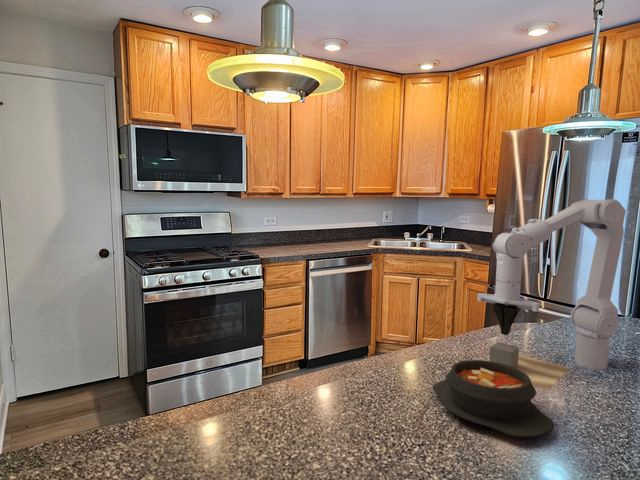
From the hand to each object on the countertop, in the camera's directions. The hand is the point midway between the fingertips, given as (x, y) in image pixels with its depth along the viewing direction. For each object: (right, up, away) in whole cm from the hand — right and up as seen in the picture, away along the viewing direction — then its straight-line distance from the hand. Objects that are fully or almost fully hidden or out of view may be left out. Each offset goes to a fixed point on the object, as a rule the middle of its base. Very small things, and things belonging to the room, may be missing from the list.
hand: (505, 333), depth 106 cm
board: (+5, -10, +1) cm, 11 cm away
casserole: (-13, -12, -20) cm, 27 cm away
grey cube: (0, -9, +1) cm, 9 cm away
